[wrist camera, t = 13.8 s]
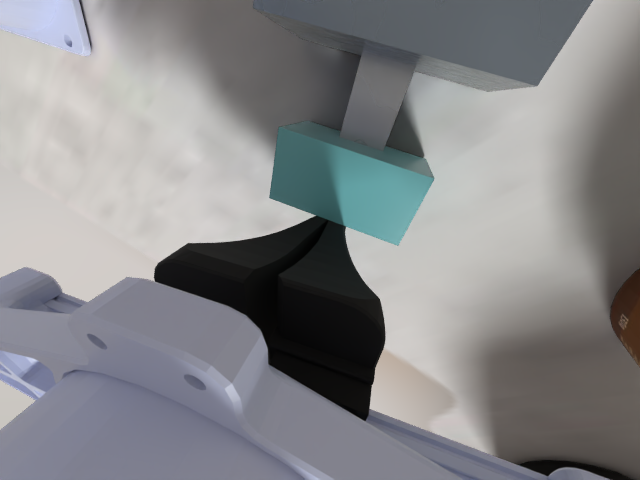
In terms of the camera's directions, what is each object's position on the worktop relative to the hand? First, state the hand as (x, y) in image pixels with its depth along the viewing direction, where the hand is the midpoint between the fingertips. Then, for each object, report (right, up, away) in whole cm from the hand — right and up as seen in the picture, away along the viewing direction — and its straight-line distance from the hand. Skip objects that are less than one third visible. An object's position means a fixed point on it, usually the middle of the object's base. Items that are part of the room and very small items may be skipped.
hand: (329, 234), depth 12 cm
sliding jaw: (+2, +6, -1) cm, 6 cm away
